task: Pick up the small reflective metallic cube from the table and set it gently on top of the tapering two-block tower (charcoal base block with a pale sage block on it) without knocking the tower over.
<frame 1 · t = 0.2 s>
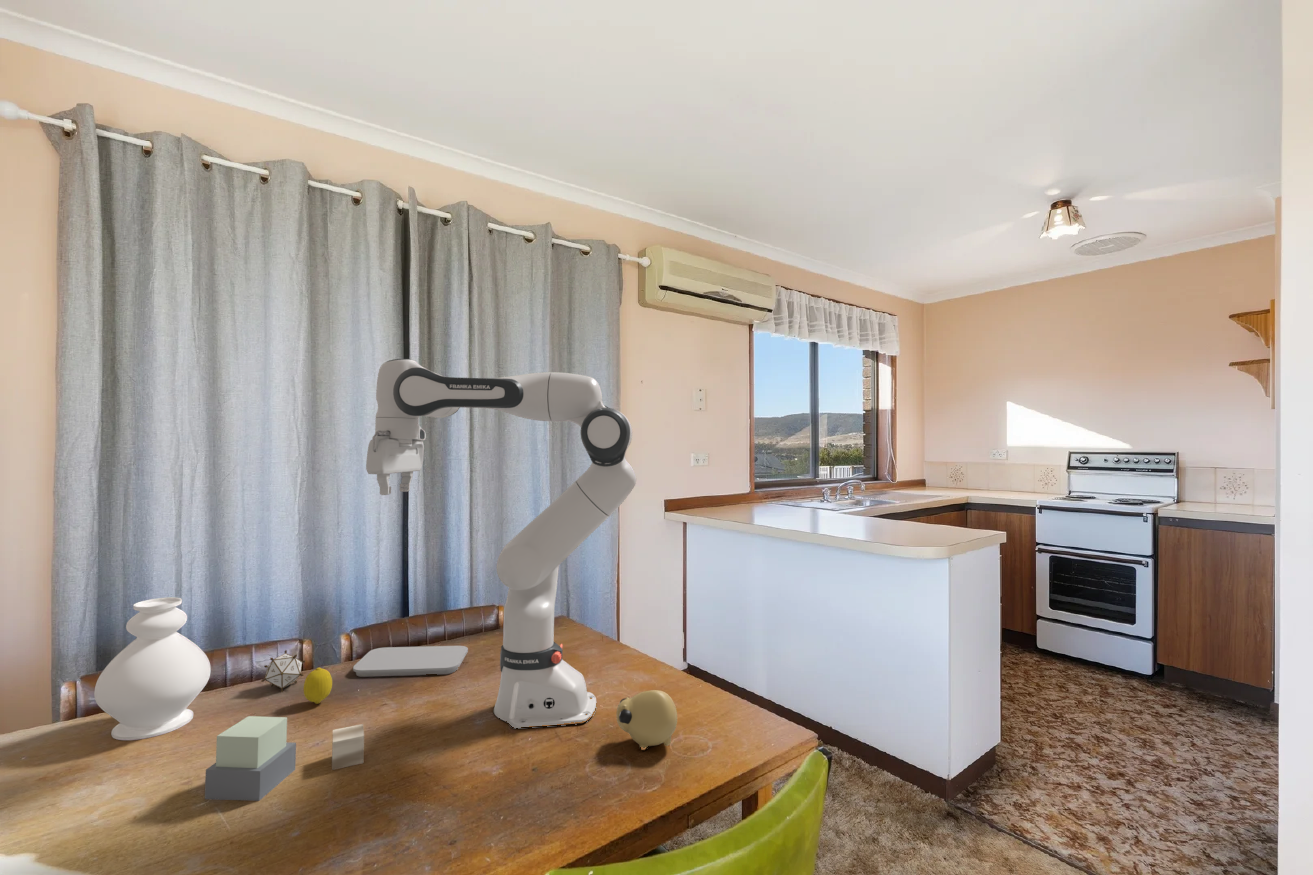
hand: (395, 493, 128), 47 cm above the table, tool pointing down, fingers open, 8 cm apart
toy pig: (646, 745, 112), on the table
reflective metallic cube: (347, 760, 105), on the table
game die: (283, 688, 135), on the table
sage top block: (252, 756, 97), point 5 cm above the table, touching charcoal base block
decorative vase: (153, 725, 116), on the table
charcoal base block: (252, 785, 97), on the table, touching sage top block
lemon: (317, 704, 127), on the table
tablet: (413, 666, 151), on the table
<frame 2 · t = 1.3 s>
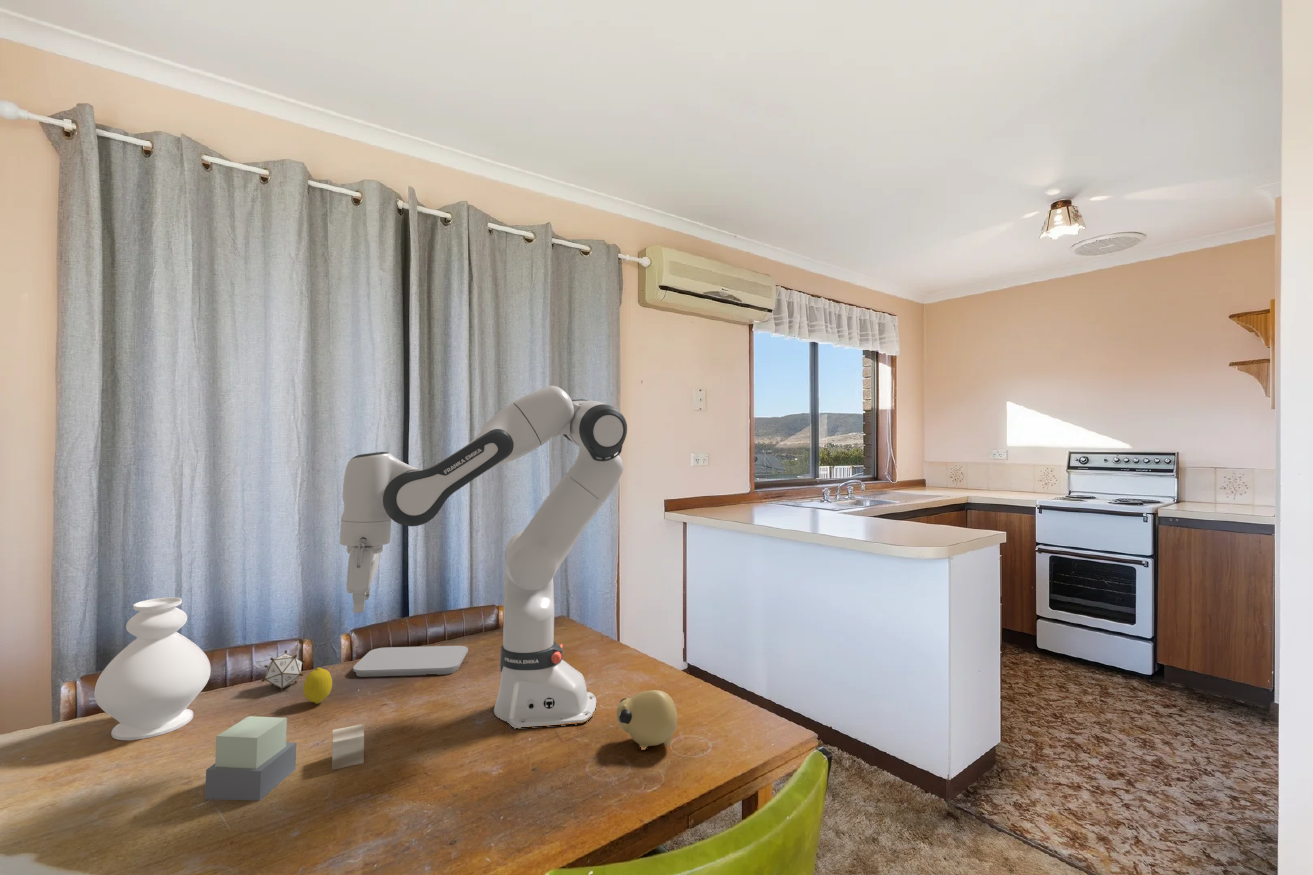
hand: (361, 605, 111), 27 cm above the table, tool pointing down, fingers open, 8 cm apart
nothing on the table moved.
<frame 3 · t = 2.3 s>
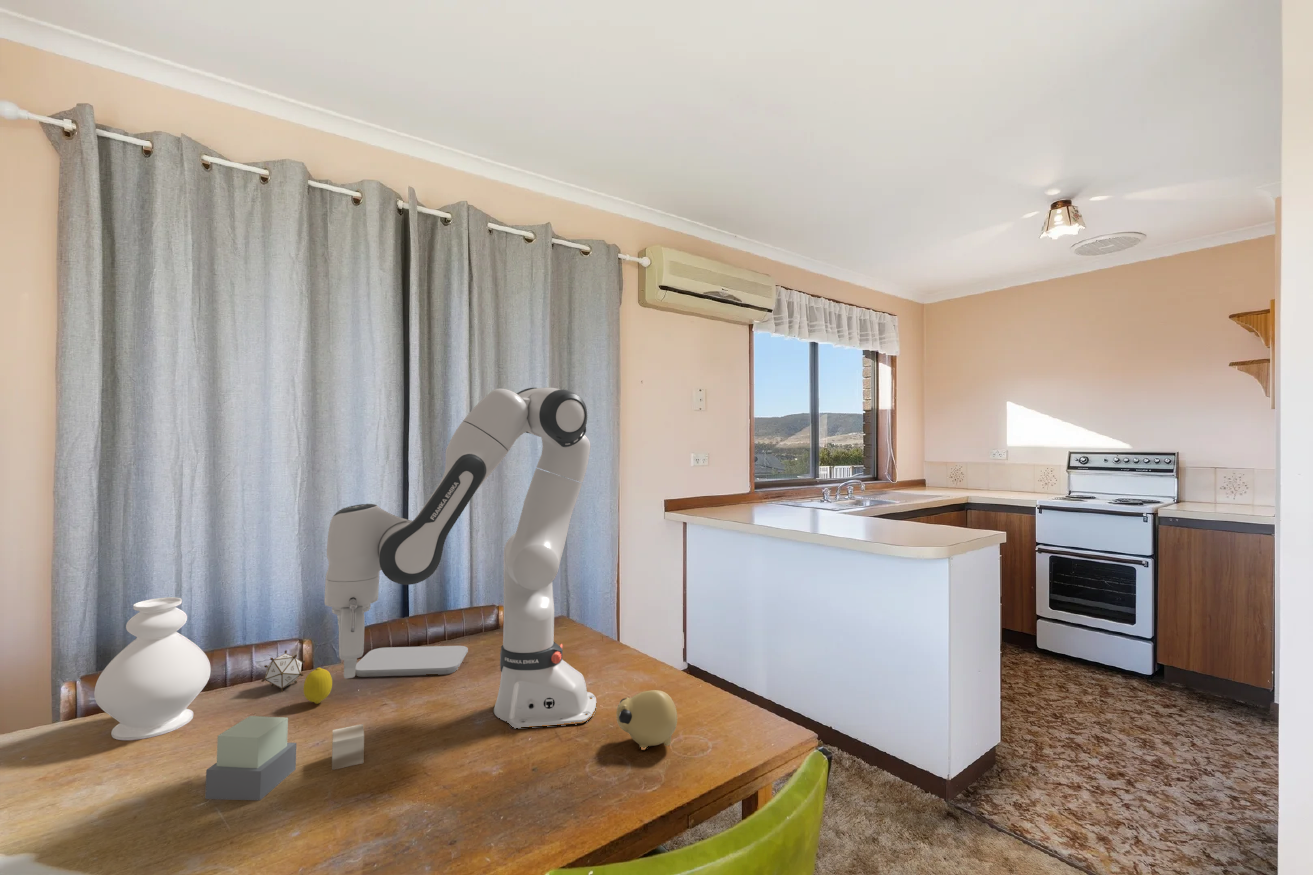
hand: (348, 667, 105), 17 cm above the table, tool pointing down, fingers open, 8 cm apart
nothing on the table moved.
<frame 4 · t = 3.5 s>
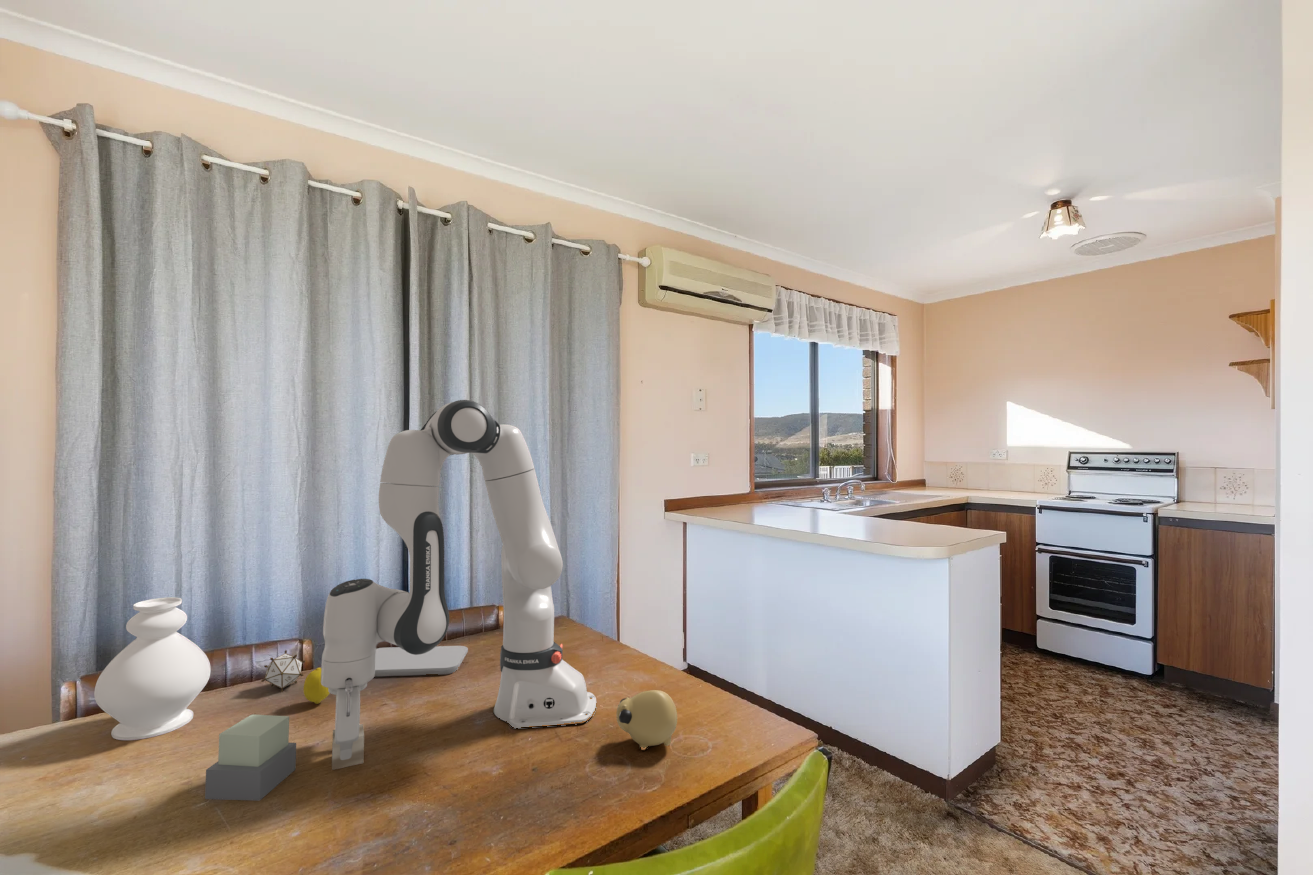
hand: (345, 745, 105), 3 cm above the table, tool pointing down, fingers open, 8 cm apart
nothing on the table moved.
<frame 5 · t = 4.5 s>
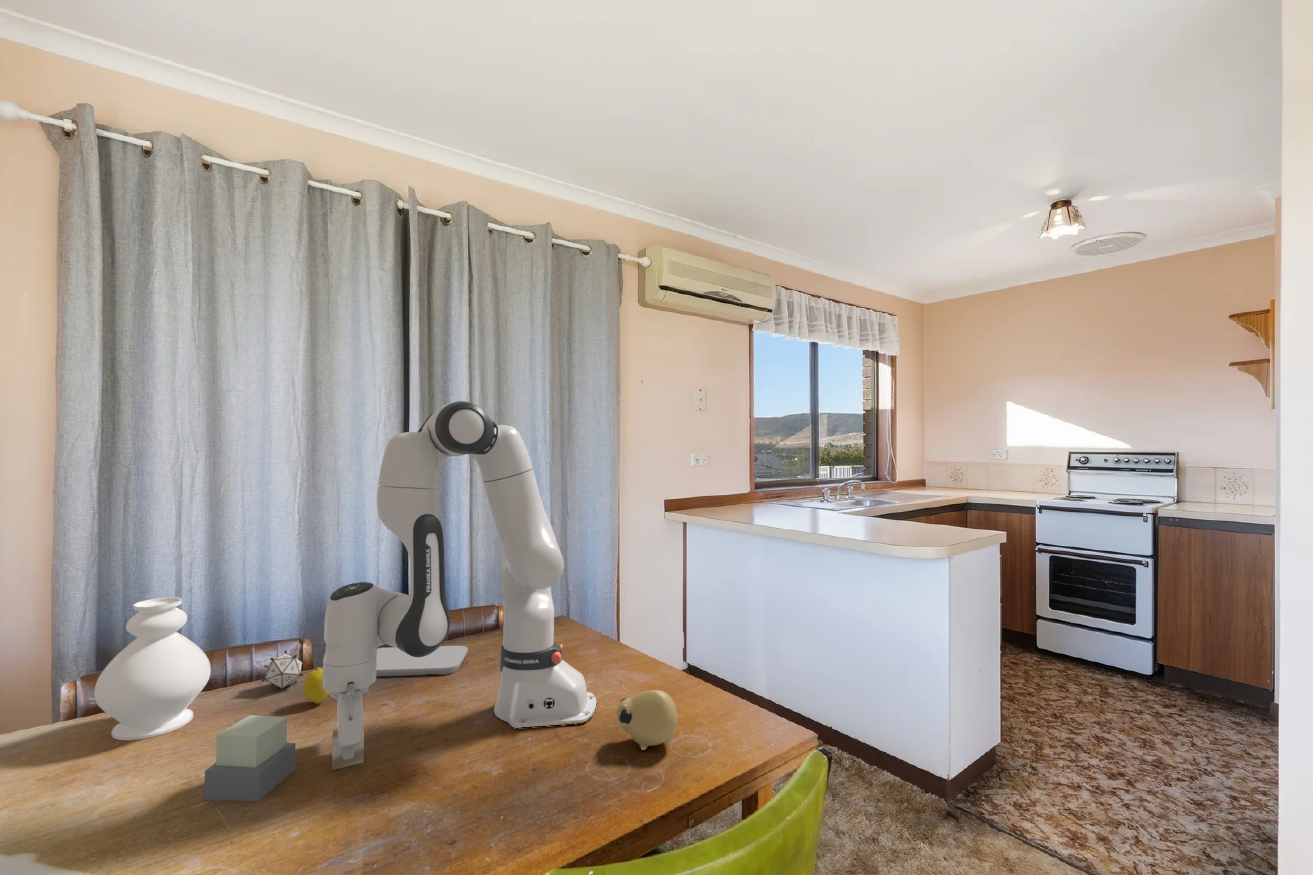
hand: (347, 749, 105), 2 cm above the table, tool pointing down, fingers closed on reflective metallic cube, 5 cm apart
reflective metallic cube: (347, 759, 105), on the table, touching gripper
sage top block: (252, 755, 97), point 5 cm above the table
charcoal base block: (251, 785, 97), on the table
everything else where it was.
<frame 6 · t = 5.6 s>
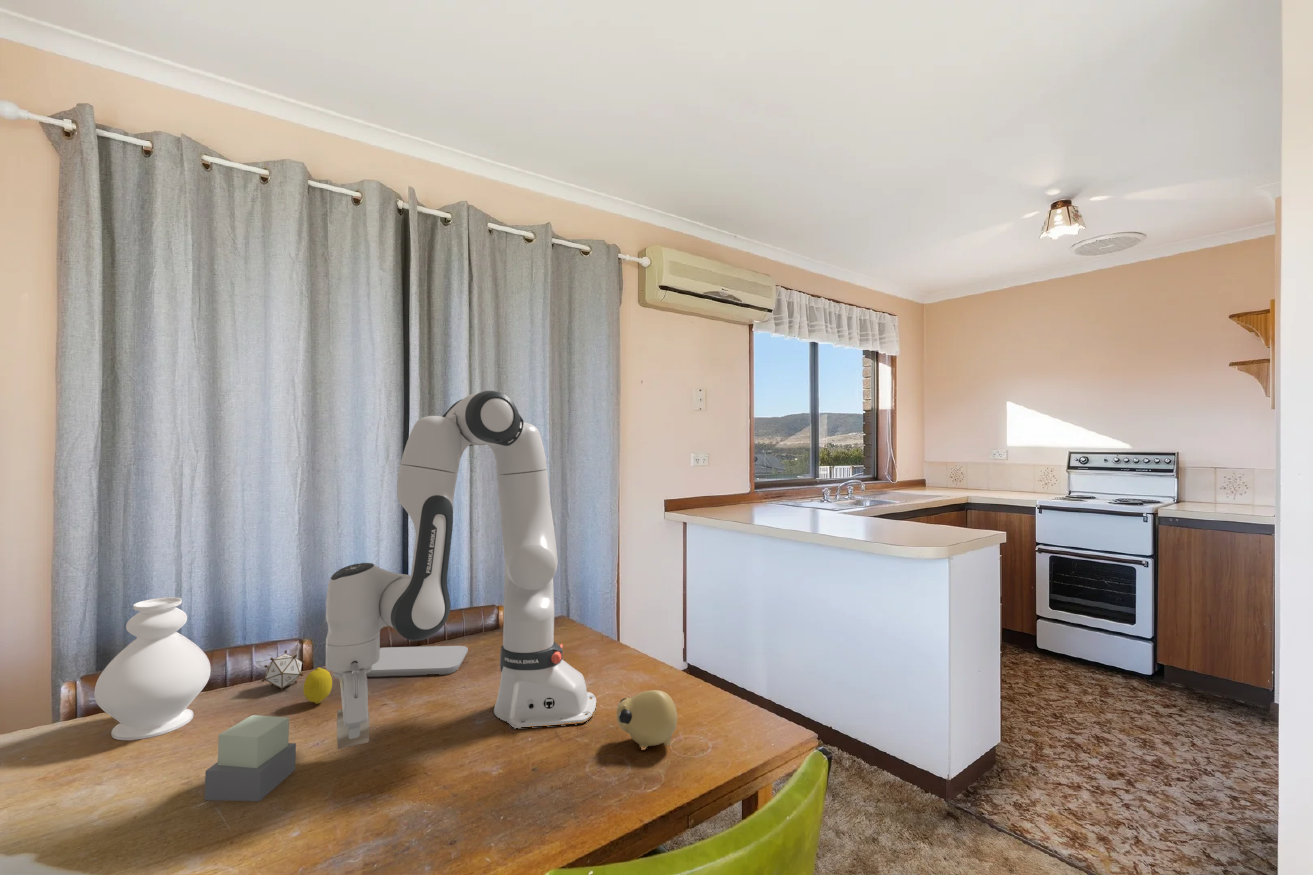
hand: (353, 729, 105), 6 cm above the table, tool pointing down, fingers closed on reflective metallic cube, 5 cm apart
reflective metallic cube: (352, 739, 105), point 4 cm above the table, touching gripper
sage top block: (254, 755, 97), point 5 cm above the table, touching charcoal base block
charcoal base block: (251, 786, 97), on the table, touching sage top block
everything else where it was.
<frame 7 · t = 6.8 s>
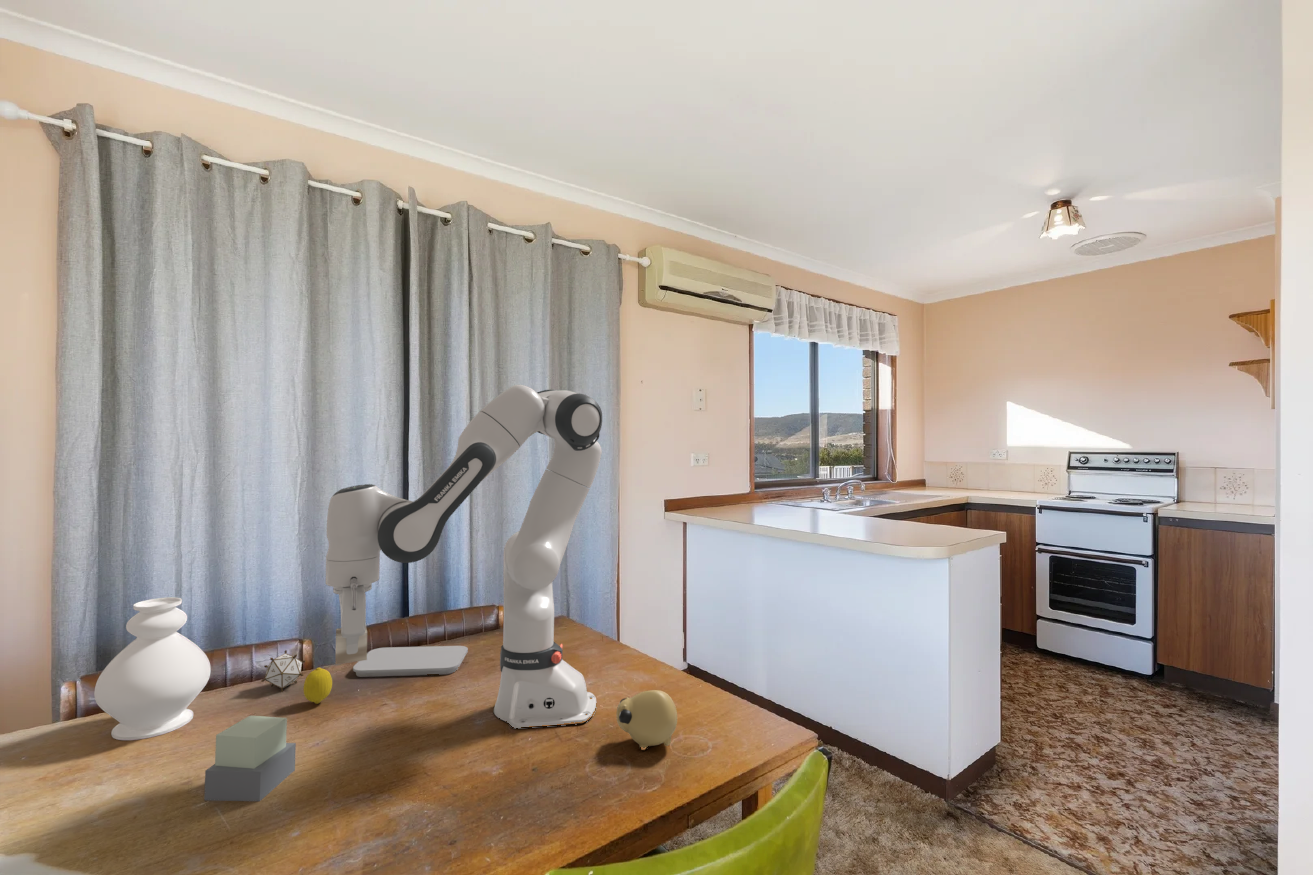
hand: (351, 647, 105), 21 cm above the table, tool pointing down, fingers closed on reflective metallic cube, 5 cm apart
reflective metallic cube: (350, 657, 105), point 19 cm above the table, touching gripper
everything else where it was.
when the fingers open (13 cm above the table, at t = 10.3 s): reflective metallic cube drops 1 cm, resting on sage top block.
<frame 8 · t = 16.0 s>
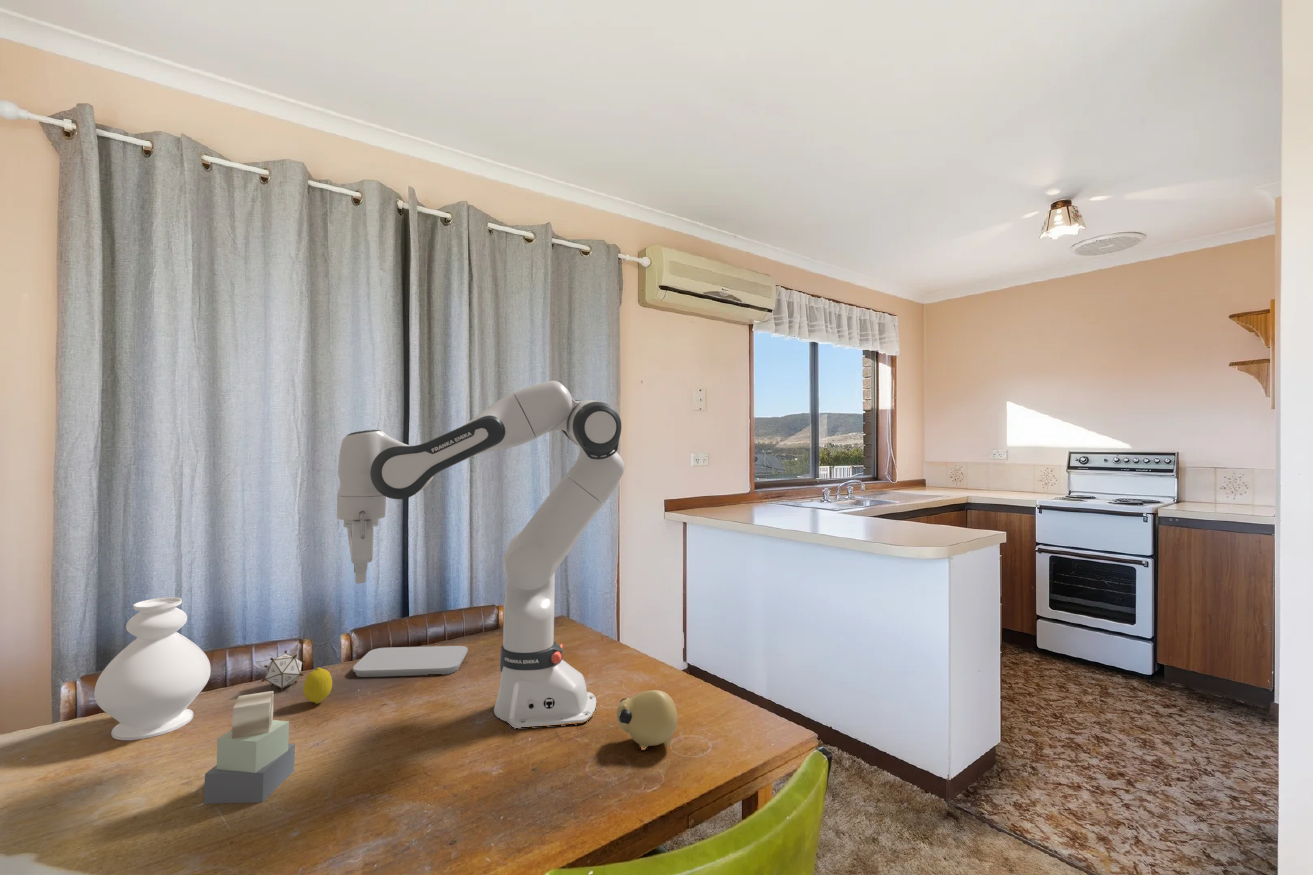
hand: (359, 577, 116), 31 cm above the table, tool pointing down, fingers open, 8 cm apart
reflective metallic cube: (253, 728, 96), point 10 cm above the table, touching sage top block
sage top block: (253, 759, 96), point 5 cm above the table, touching charcoal base block, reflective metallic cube
at the end: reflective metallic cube 0.4 cm off-centre on the sage top block, point 5.0 cm above the sage top block's base; sage top block 0.6 cm off-centre on the charcoal base block, point 5.0 cm above the charcoal base block's base; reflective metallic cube tilted 0° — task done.
